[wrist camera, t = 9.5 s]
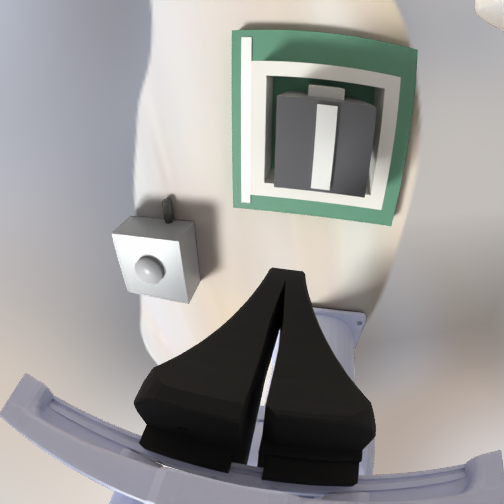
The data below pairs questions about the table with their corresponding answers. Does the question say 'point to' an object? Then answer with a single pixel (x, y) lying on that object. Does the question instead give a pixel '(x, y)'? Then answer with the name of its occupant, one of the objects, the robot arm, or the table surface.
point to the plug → (323, 141)
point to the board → (298, 79)
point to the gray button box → (158, 256)
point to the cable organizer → (491, 12)
